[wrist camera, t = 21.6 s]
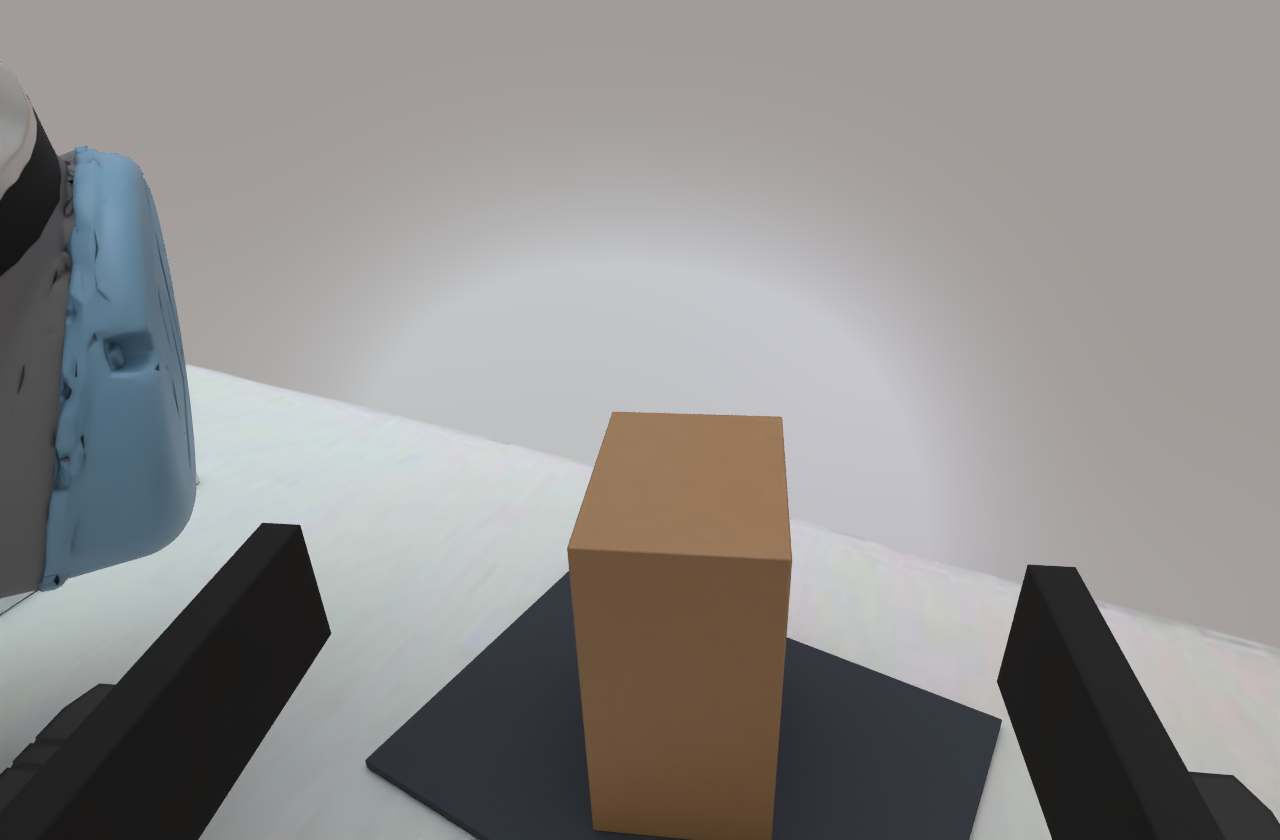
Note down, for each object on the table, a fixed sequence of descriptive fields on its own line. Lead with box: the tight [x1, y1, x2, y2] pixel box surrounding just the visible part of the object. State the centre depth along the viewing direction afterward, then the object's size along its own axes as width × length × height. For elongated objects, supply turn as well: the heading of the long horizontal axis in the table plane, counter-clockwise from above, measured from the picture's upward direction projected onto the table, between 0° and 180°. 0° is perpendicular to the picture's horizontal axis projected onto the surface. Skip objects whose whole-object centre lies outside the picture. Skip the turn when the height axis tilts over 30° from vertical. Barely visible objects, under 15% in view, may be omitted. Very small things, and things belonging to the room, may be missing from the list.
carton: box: [567, 412, 792, 840], centre depth 27 cm, size 6×8×12 cm
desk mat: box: [366, 571, 1002, 840], centre depth 30 cm, size 20×14×1 cm
